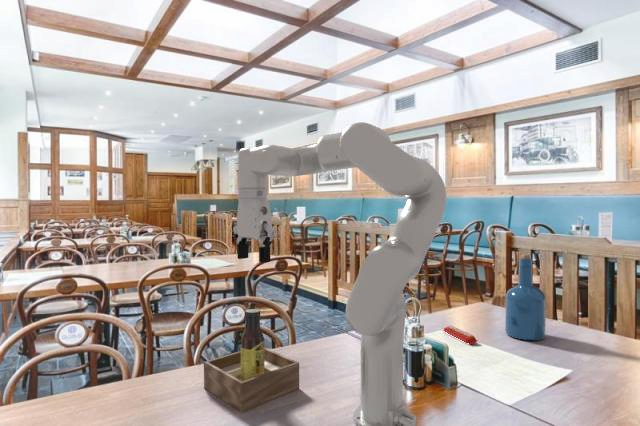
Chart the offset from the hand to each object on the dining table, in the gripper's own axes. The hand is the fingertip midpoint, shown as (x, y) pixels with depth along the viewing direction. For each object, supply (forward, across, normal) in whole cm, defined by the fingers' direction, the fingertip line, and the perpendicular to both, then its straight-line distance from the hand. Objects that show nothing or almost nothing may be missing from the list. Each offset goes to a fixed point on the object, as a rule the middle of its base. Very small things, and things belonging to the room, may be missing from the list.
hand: (253, 260), depth 110 cm
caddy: (+34, 0, +1) cm, 34 cm away
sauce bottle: (+33, 0, +1) cm, 33 cm away
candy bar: (+35, -20, -76) cm, 86 cm away
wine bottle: (+35, -36, -95) cm, 107 cm away
